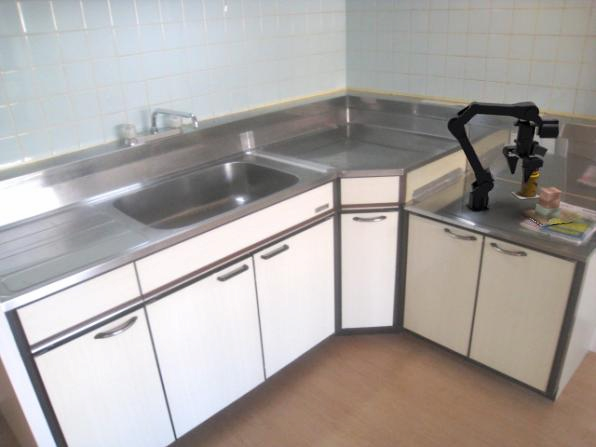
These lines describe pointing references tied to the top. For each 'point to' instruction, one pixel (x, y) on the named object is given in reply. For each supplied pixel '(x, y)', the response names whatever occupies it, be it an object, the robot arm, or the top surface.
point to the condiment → (529, 187)
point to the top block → (549, 197)
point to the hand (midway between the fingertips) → (518, 178)
